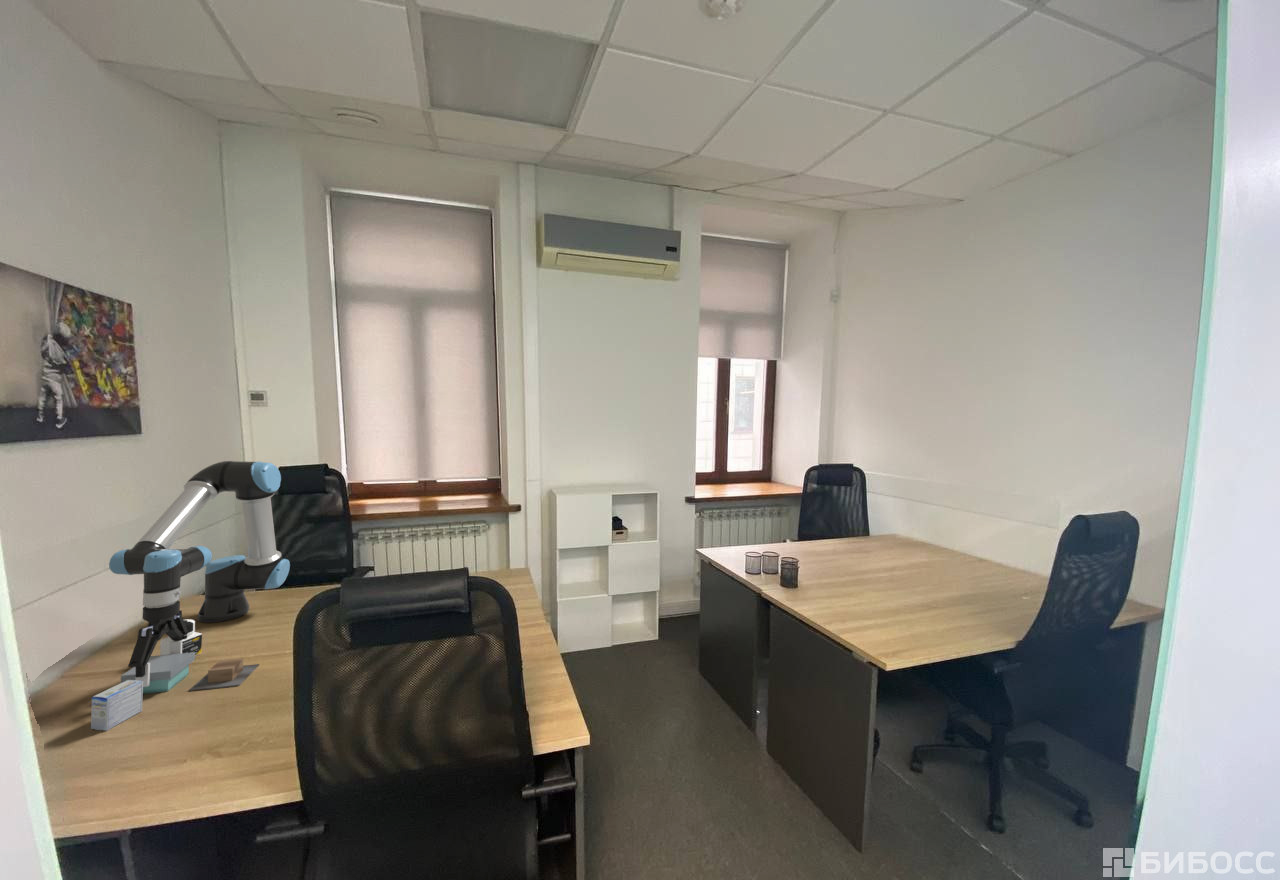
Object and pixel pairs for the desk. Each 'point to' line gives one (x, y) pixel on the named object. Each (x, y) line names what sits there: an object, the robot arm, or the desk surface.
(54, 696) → the desk surface
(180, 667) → the cover plate
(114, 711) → the medicine box
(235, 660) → the stand
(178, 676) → the dish
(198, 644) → the medicine bottle
